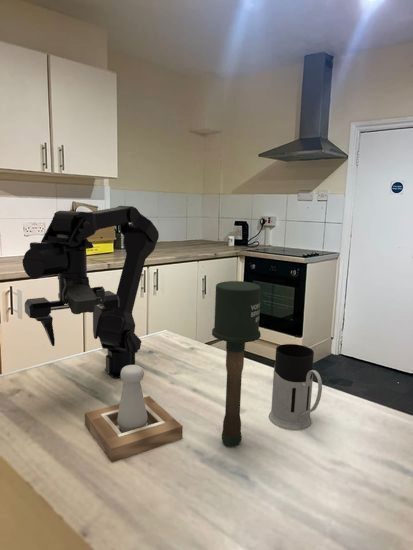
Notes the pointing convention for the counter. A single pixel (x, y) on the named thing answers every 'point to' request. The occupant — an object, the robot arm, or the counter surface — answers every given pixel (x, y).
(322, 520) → the counter surface
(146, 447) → the socket board
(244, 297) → the potato masher grenade
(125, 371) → the salt shaker
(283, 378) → the glass holder
